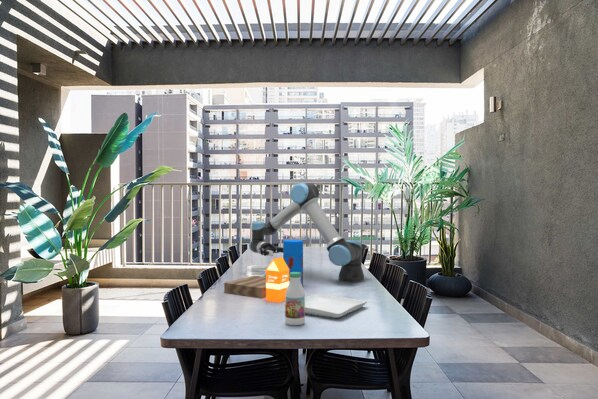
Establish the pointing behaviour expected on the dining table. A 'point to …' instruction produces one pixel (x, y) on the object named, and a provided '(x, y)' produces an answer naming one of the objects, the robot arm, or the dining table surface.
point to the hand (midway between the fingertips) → (283, 253)
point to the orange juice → (277, 280)
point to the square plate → (331, 305)
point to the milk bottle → (295, 301)
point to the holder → (256, 271)
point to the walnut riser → (247, 287)
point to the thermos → (294, 256)
